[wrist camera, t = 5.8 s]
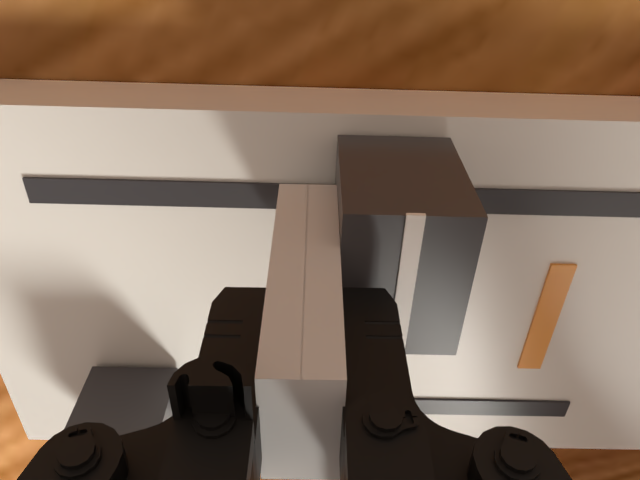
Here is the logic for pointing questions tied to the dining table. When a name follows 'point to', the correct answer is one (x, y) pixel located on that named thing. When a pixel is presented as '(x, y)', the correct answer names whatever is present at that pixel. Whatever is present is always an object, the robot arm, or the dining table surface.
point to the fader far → (124, 398)
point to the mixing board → (258, 224)
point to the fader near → (410, 231)
